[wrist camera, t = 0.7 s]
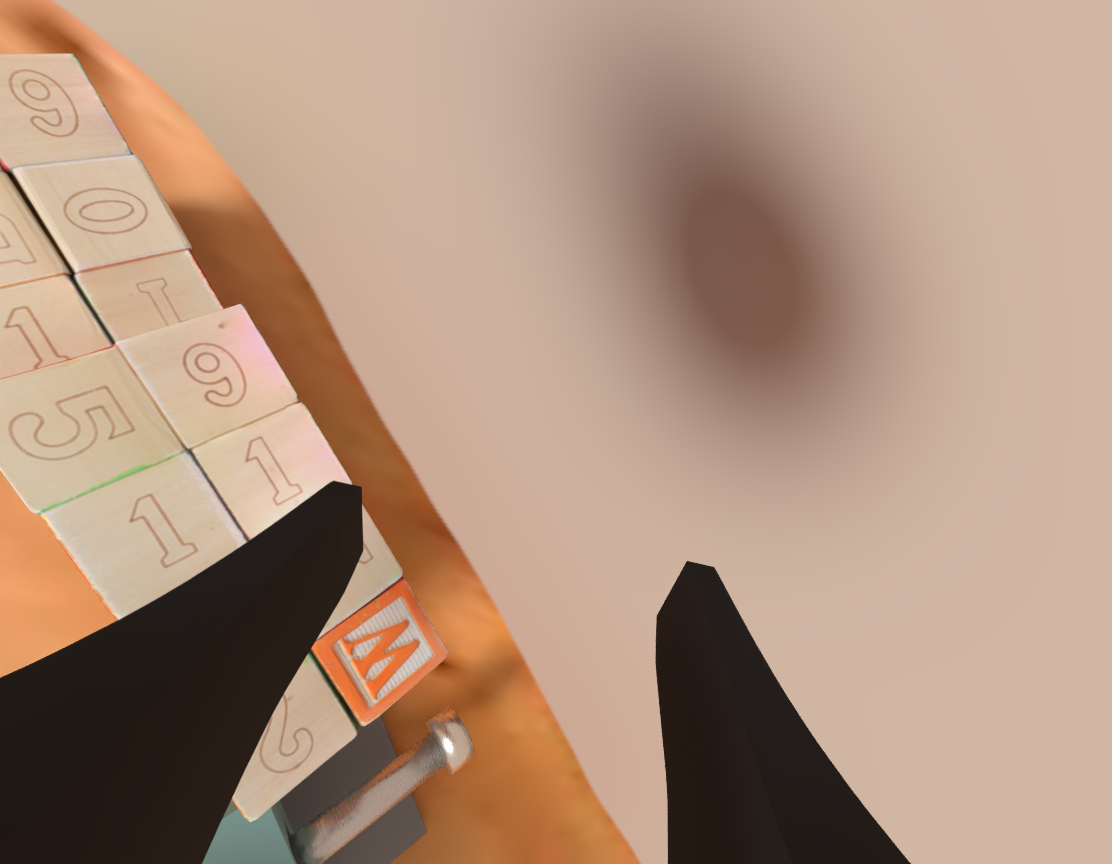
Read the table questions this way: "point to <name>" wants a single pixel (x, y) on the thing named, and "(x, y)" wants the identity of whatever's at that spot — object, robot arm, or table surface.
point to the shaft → (384, 789)
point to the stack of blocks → (166, 414)
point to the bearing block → (262, 845)
